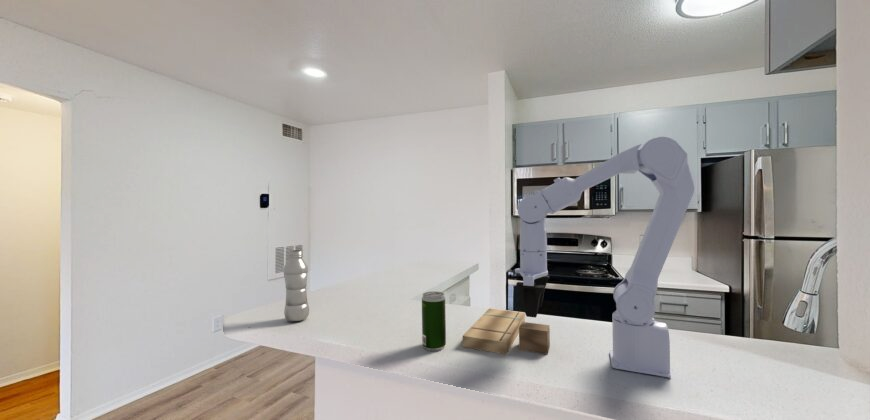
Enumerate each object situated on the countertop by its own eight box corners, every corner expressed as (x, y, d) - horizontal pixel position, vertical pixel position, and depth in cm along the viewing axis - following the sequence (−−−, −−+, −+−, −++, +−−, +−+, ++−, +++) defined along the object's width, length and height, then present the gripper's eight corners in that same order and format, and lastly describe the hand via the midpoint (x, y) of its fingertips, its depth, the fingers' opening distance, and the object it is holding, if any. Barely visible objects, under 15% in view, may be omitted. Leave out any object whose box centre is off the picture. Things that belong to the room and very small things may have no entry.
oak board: (524, 321, 91) (524, 312, 91) (506, 354, 71) (506, 342, 71) (489, 317, 95) (489, 308, 95) (462, 346, 75) (462, 335, 75)
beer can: (430, 353, 72) (429, 298, 72) (418, 345, 76) (417, 293, 76) (450, 347, 75) (449, 294, 74) (437, 340, 79) (436, 290, 79)
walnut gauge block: (549, 347, 74) (549, 325, 74) (547, 354, 71) (547, 331, 71) (522, 343, 77) (522, 321, 77) (519, 350, 73) (518, 327, 73)
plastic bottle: (304, 324, 92) (302, 252, 91) (279, 324, 92) (278, 252, 92) (313, 316, 98) (311, 249, 98) (290, 316, 98) (289, 249, 98)
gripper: (521, 246, 82) (521, 300, 82) (508, 253, 69) (508, 319, 69) (551, 247, 79) (551, 304, 79) (543, 255, 66) (544, 323, 66)
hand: (534, 311), depth 74 cm, fingers open, 7 cm apart
